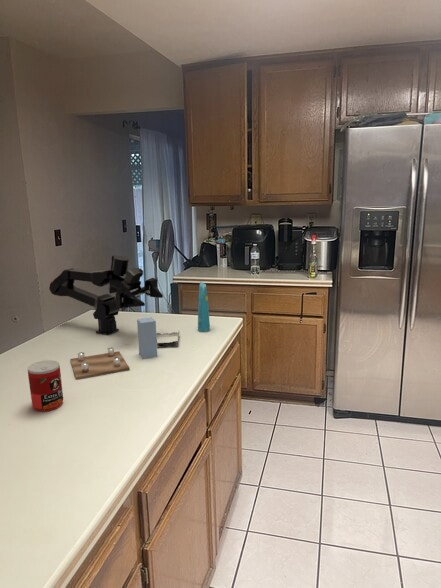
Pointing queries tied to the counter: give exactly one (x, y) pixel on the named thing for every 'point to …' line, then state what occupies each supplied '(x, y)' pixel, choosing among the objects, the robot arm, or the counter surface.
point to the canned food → (45, 385)
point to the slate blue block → (147, 337)
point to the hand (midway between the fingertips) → (153, 300)
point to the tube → (203, 309)
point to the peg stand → (98, 364)
